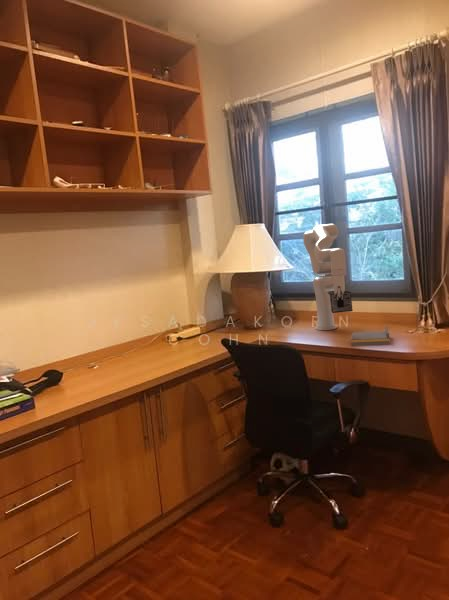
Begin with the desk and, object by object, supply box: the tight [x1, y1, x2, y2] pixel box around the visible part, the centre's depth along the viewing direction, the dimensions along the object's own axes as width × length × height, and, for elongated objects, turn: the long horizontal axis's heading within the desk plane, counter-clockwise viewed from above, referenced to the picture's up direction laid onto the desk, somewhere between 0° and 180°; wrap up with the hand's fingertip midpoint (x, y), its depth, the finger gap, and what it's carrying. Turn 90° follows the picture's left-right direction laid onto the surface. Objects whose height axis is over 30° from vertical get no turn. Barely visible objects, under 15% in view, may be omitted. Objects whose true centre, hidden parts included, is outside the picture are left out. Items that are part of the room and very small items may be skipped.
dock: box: [350, 326, 391, 346], centre depth 245 cm, size 16×18×5 cm
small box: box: [329, 290, 353, 314], centre depth 253 cm, size 11×6×10 cm, turn 83°
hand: (341, 306), depth 253 cm, fingers closed on small box, 7 cm apart
